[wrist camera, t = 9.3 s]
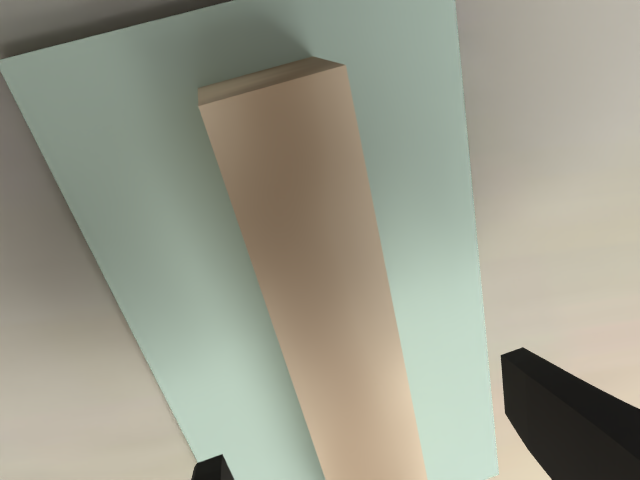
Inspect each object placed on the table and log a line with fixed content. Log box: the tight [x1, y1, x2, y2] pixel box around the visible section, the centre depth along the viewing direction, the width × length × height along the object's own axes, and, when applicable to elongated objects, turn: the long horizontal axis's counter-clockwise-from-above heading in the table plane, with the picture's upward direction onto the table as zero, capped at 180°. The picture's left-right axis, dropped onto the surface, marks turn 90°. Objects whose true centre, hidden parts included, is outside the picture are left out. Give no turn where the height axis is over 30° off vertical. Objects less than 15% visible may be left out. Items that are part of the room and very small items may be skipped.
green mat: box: [0, 0, 499, 480], centre depth 16 cm, size 11×20×1 cm, turn 14°
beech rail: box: [198, 56, 428, 480], centre depth 14 cm, size 3×16×3 cm, turn 14°
